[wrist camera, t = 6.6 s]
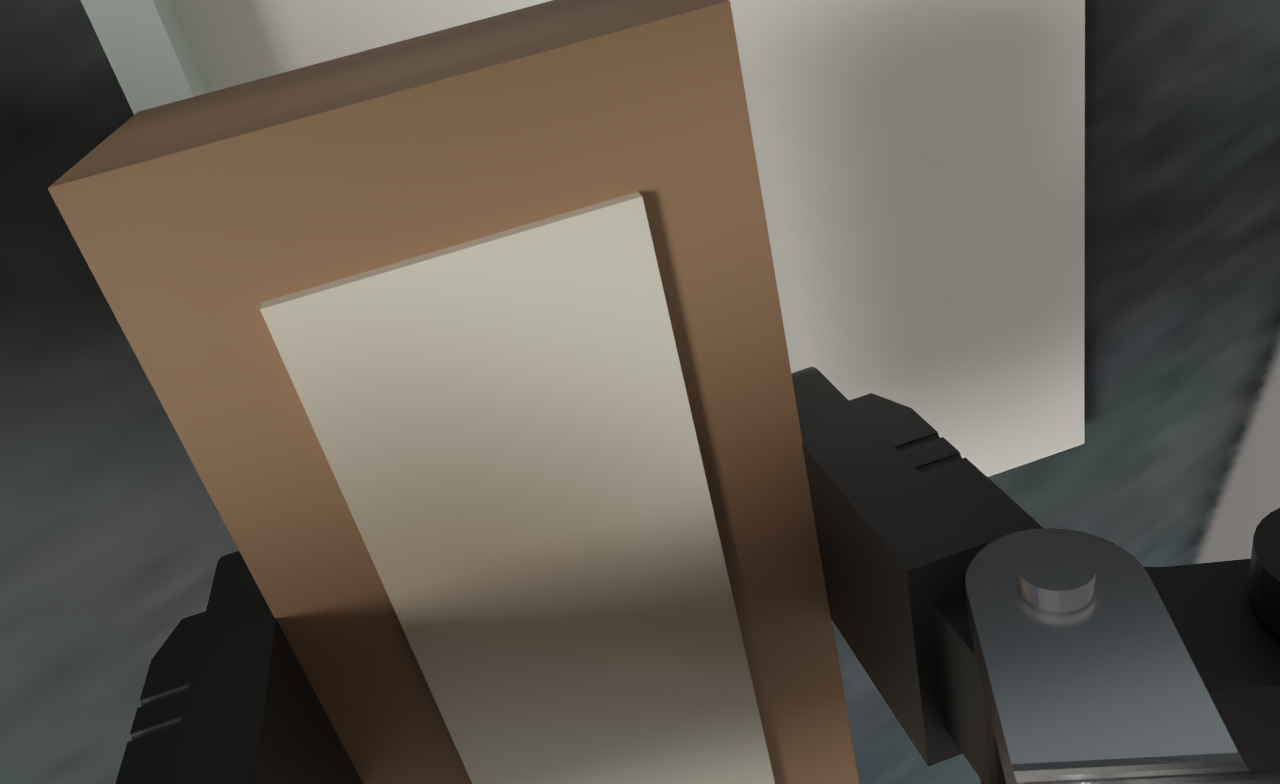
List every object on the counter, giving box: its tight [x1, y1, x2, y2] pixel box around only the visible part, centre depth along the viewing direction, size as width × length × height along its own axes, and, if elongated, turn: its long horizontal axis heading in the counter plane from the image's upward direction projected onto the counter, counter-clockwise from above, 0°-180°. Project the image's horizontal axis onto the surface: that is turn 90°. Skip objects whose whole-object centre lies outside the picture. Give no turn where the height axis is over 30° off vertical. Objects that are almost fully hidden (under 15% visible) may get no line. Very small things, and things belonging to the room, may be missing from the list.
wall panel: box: [81, 0, 1085, 477], centre depth 20 cm, size 20×19×3 cm
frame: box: [48, 0, 859, 784], centre depth 11 cm, size 10×5×3 cm, turn 13°
